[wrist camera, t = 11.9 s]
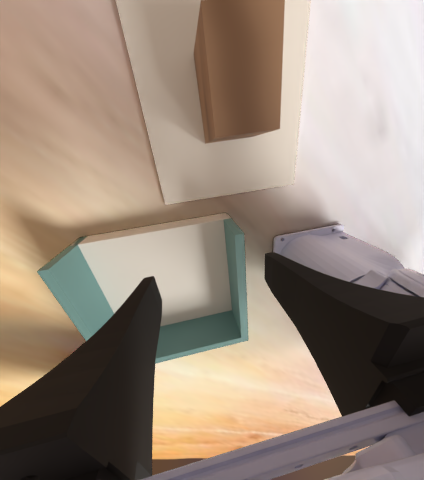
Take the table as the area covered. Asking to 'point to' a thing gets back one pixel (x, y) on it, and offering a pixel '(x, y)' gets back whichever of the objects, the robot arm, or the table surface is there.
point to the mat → (189, 111)
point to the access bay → (160, 281)
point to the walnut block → (239, 67)
